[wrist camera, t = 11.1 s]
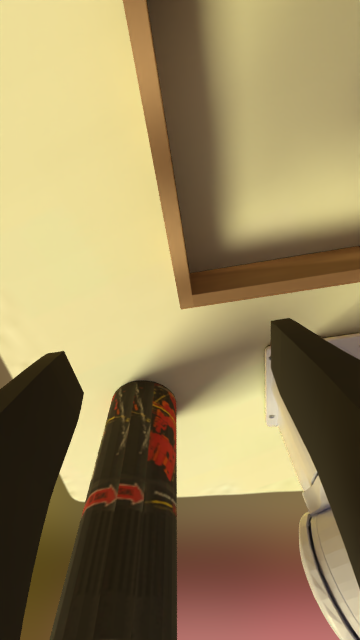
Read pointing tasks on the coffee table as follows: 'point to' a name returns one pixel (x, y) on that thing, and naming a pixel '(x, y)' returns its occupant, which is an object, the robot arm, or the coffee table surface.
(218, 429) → the coffee table surface
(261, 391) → the coffee table surface
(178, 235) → the open pen
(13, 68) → the coffee table surface
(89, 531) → the deodorant
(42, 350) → the coffee table surface
